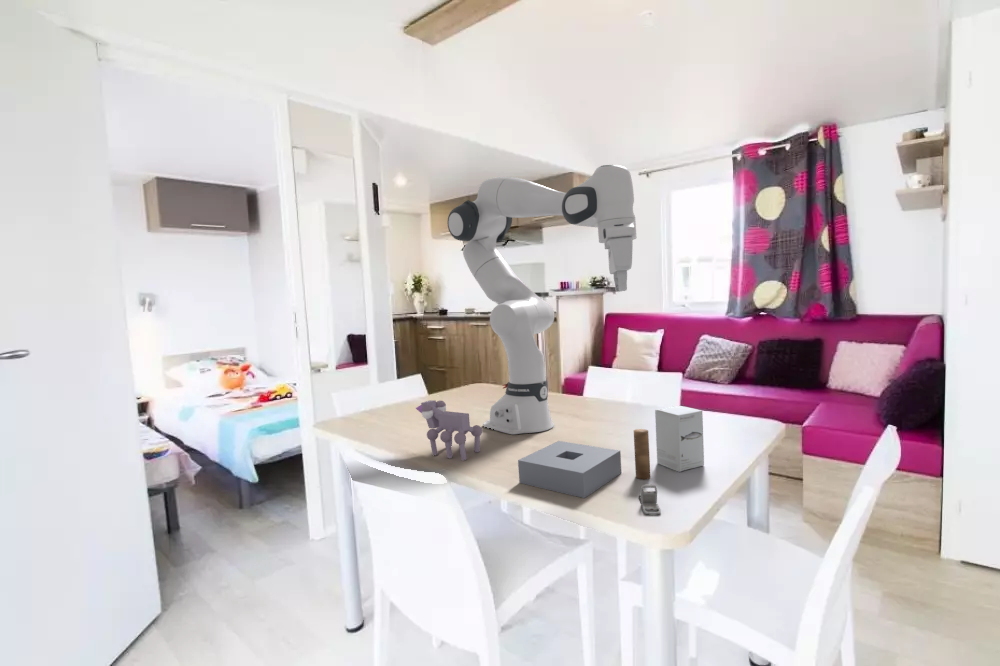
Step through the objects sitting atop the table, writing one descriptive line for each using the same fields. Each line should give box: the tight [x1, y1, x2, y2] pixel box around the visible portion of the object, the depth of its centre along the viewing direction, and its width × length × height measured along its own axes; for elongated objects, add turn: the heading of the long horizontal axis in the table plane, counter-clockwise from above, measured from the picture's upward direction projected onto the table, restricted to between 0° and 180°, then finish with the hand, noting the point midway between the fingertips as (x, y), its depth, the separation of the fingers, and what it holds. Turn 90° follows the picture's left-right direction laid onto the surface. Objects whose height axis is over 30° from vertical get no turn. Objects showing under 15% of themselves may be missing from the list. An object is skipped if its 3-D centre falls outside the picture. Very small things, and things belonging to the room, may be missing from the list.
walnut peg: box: [633, 428, 651, 480], centre depth 107 cm, size 3×3×10 cm
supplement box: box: [654, 405, 705, 473], centre depth 112 cm, size 7×7×13 cm
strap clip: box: [638, 483, 662, 517], centre depth 93 cm, size 8×3×4 cm, turn 172°
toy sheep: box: [415, 399, 483, 462], centre depth 134 cm, size 20×11×14 cm, turn 55°
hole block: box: [517, 440, 622, 499], centre depth 109 cm, size 16×16×5 cm
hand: (621, 291), depth 121 cm, fingers open, 8 cm apart
